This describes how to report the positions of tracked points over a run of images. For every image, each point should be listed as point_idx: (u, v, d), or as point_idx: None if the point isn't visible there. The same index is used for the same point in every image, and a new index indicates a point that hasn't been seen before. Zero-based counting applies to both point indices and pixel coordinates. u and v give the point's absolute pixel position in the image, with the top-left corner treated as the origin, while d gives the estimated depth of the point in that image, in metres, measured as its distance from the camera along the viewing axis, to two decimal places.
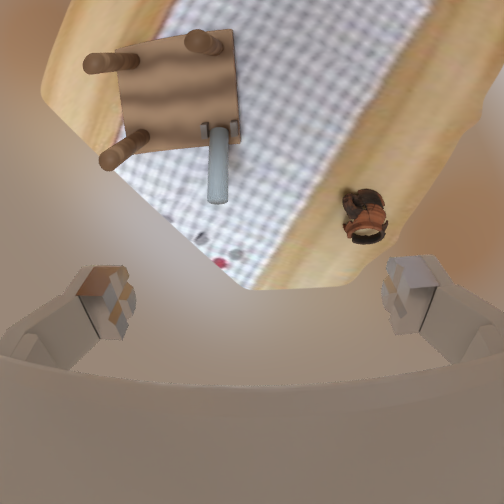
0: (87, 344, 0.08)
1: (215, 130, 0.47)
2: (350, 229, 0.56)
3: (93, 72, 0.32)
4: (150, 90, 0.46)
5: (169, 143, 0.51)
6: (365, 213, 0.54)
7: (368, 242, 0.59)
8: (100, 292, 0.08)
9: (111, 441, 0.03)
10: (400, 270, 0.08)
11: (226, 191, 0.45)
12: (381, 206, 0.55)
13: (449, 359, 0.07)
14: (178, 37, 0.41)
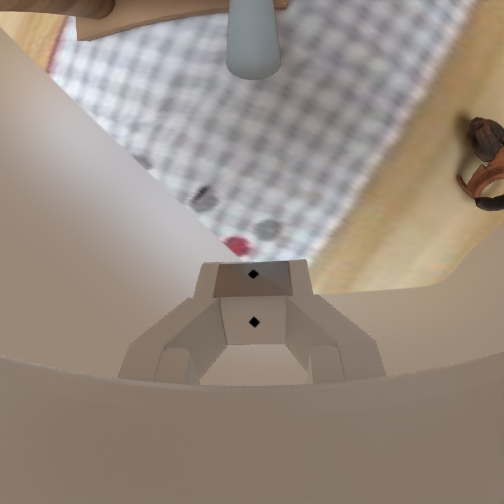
0: (216, 353, 0.08)
1: None
2: (483, 179, 0.25)
3: None
4: None
5: (149, 9, 0.20)
6: None
7: (497, 207, 0.28)
8: (247, 292, 0.08)
9: (111, 441, 0.03)
10: (257, 276, 0.08)
11: (276, 42, 0.15)
12: None
13: None
14: None
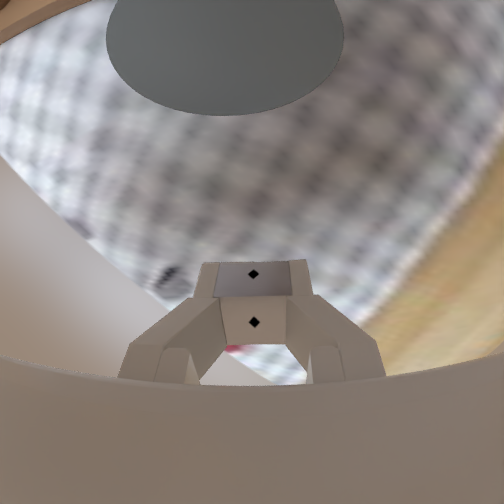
0: (216, 352, 0.08)
1: None
2: None
3: None
4: None
5: None
6: None
7: None
8: (247, 292, 0.08)
9: (111, 441, 0.03)
10: (257, 276, 0.08)
11: None
12: None
13: None
14: None
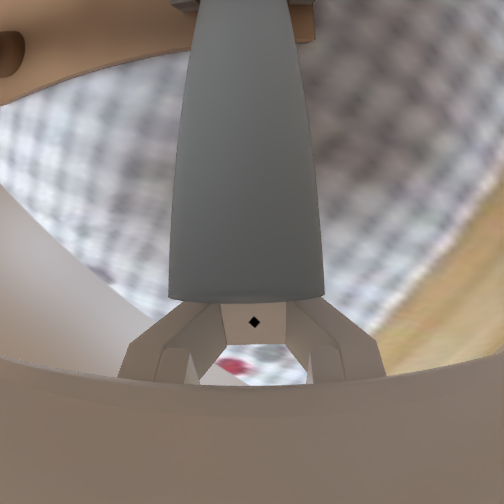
0: (216, 352, 0.08)
1: None
2: None
3: None
4: None
5: (71, 55, 0.12)
6: None
7: None
8: None
9: (111, 441, 0.03)
10: None
11: (317, 229, 0.06)
12: None
13: None
14: None
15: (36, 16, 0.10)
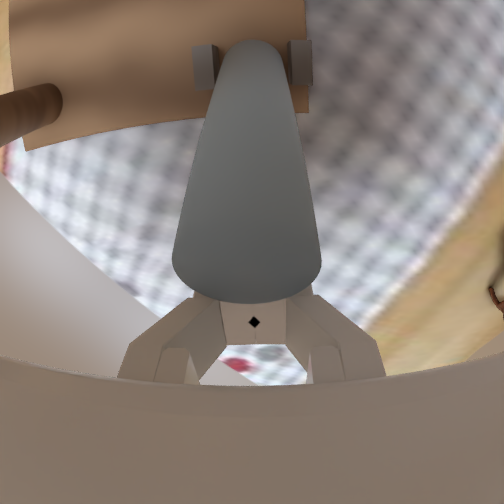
0: (216, 352, 0.08)
1: (243, 43, 0.12)
2: None
3: None
4: None
5: (107, 114, 0.17)
6: None
7: None
8: None
9: (111, 441, 0.03)
10: None
11: (310, 205, 0.07)
12: None
13: None
14: None
15: (71, 73, 0.15)
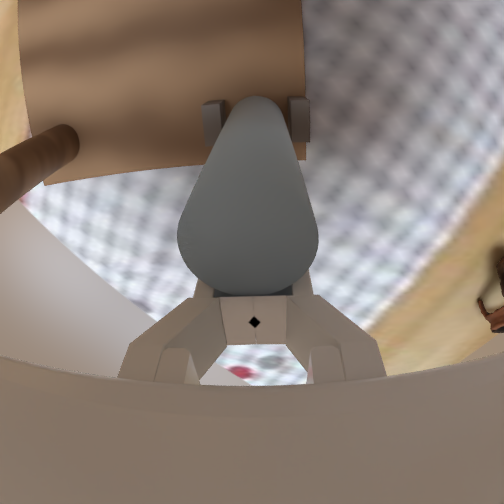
0: (216, 353, 0.08)
1: (248, 98, 0.15)
2: None
3: None
4: (79, 30, 0.14)
5: (123, 157, 0.20)
6: None
7: None
8: None
9: (111, 441, 0.03)
10: None
11: (306, 194, 0.07)
12: None
13: None
14: None
15: (86, 117, 0.18)
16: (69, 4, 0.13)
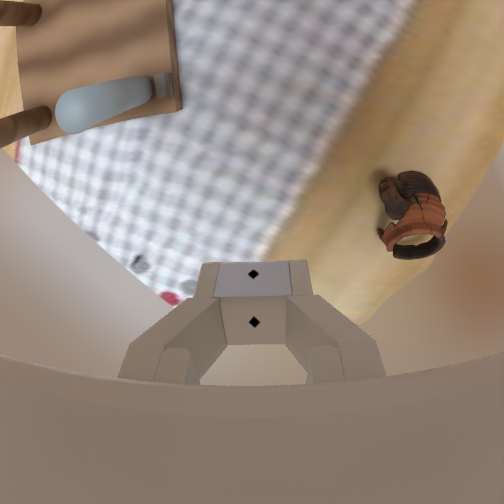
0: (216, 352, 0.08)
1: None
2: (392, 236, 0.32)
3: None
4: (52, 49, 0.24)
5: None
6: (417, 209, 0.30)
7: (417, 256, 0.35)
8: (247, 292, 0.08)
9: (111, 441, 0.03)
10: (257, 276, 0.08)
11: (97, 95, 0.17)
12: (438, 197, 0.31)
13: None
14: None
15: (56, 100, 0.28)
16: (46, 33, 0.23)
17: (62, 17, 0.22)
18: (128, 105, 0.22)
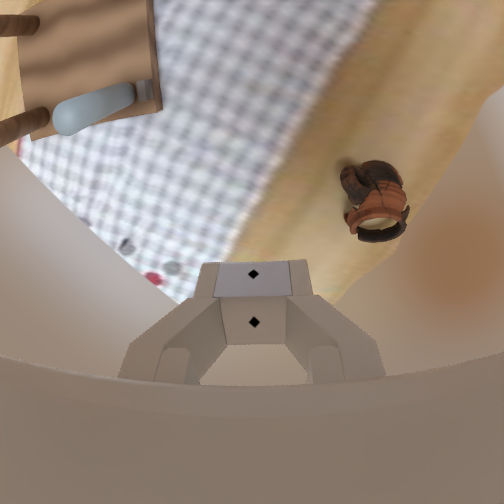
0: (216, 352, 0.08)
1: None
2: (354, 220, 0.37)
3: None
4: (49, 56, 0.28)
5: None
6: (376, 195, 0.34)
7: (381, 239, 0.39)
8: (247, 292, 0.08)
9: (111, 441, 0.03)
10: (257, 276, 0.08)
11: (85, 105, 0.21)
12: (399, 184, 0.35)
13: None
14: None
15: (53, 102, 0.31)
16: (44, 42, 0.26)
17: (58, 28, 0.26)
18: (112, 110, 0.26)
